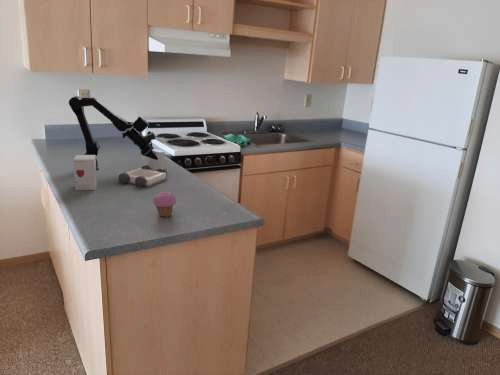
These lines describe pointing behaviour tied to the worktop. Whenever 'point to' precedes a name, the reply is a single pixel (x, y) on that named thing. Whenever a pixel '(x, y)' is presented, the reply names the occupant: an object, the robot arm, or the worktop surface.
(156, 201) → the cupcake
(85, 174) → the supplement box
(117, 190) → the worktop surface
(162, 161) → the small box
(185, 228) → the worktop surface
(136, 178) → the chassis
